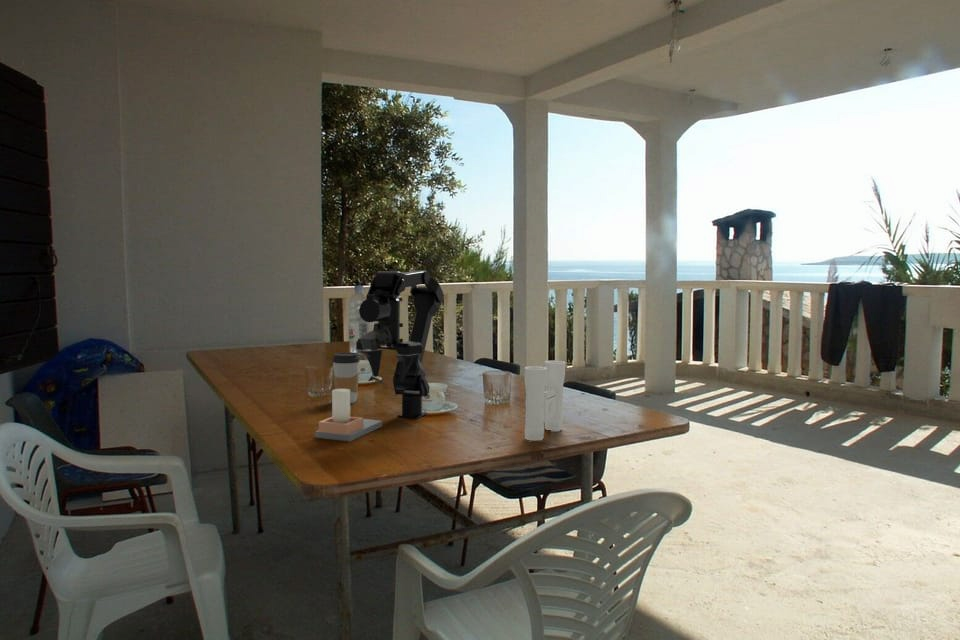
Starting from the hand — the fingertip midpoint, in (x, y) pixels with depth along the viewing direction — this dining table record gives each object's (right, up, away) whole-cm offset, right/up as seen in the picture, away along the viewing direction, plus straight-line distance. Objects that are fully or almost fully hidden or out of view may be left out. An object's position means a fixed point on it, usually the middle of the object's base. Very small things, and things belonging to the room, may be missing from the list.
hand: (388, 378), depth 174 cm
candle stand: (-9, -13, -4) cm, 17 cm away
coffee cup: (-18, -10, +32) cm, 38 cm away
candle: (-11, -12, -8) cm, 18 cm away
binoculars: (+41, -14, -4) cm, 43 cm away
